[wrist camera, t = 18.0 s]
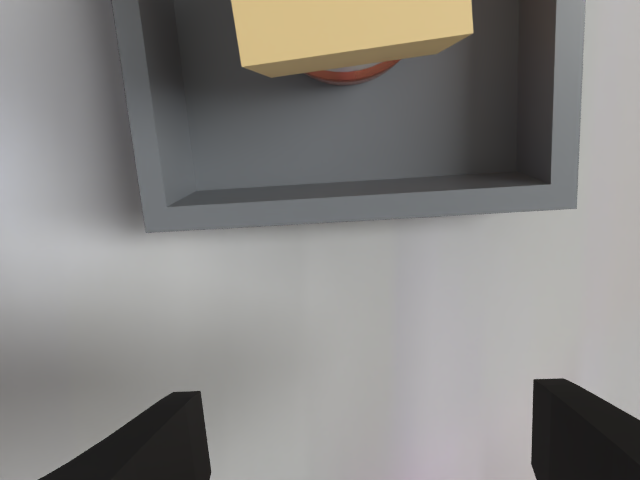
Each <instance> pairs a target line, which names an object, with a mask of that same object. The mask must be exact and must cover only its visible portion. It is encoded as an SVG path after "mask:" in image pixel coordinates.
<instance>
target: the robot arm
mask: <svg viewBox="0 0 640 480" xmlns="http://www.w3.org/2000/svg"><path fill="white" fill-rule="evenodd" d="M531 465H532V467H533V470H534V473H535V476H536V479H537V480H640V420H638V419H637V418H635V417H633V416H631V415H629V414H628V413H626V412H624V411H622V410H621V409H619V408H617V407H615V406H614V405H612V404H610V403H608V402H607V401H605V400H603V399H601V398H600V397H598V396H596V395H594V394H593V393H591V392H589V391H587V390H585V389H584V388H582V387H580V386H578V385H576V384H574V383H572V382H570V381H568V380H566V379H534V384H533V422H532V460H531ZM210 475H211V467H210V459H209V452H208V444H207V437H206V429H205V422H204V414H203V407H202V399H201V392H200V391H191V392H173V393H171V394H169V395H168V396H166V397H164V398H163V399H161V400H160V401H158V402H157V403H155V404H154V405H152V406H151V407H150V408H148V409H147V410H145V411H144V412H142V413H141V414H140V415H138V416H137V417H135V418H134V419H133V420H131V421H130V422H128V423H127V424H125V425H124V426H123V427H121V428H120V429H118V430H117V431H115V432H114V433H113V434H111V435H110V436H108V437H107V438H105V439H104V440H102V441H101V442H99V443H98V444H96V445H94V446H93V447H91V448H90V449H88V450H87V451H85V452H84V453H82V454H80V455H79V456H77V457H76V458H74V459H73V460H71V461H70V462H68V463H66V464H65V465H63V466H61V467H60V468H58V469H56V470H54V471H53V472H51V473H49V474H47V475H46V476H44V477H42V478H40V479H38V480H209V479H210Z"/></svg>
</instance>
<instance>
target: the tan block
mask: <svg viewBox="0 0 640 480" xmlns="http://www.w3.org/2000/svg"><path fill="white" fill-rule="evenodd" d="M231 3H232V10H233V16H234V22H235V28H236V34H237V41H238V47H239V53H240V59H241V66H242V67H243V68H246V69H249V70H252V71H254V72H257V73H260V74H262V75H265V76H268V77H271V78H273V77H280V76H287V75H294V74H301V73H308V72H315V71H322V70H329V69H336V68H343V67H350V66H357V65H364V64H370V63H377V62H385V61H391V60H398V59H405V58H412V57H419V56H426V55H433V54H438V53H439V52H441V51H443V50H445V49H446V48H448V47H450V46H452V45H454V44H455V43H457V42H459V41H461V40H462V39H464V38H466V37H468V36H469V35H471V34H473V18H472V2H471V0H231Z"/></svg>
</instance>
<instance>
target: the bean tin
mask: <svg viewBox="0 0 640 480" xmlns="http://www.w3.org/2000/svg"><path fill="white" fill-rule="evenodd" d="M400 60H401V59H398V60H391V61H385V62H377V63H370V64H364V65H357V66H350V67H343V68H336V69H329V70H322V71H315V72H308V73H304V74H306V75H307V76H309V77H311V78H313V79H315V80H317V81H320V82H323V83H327V84H332V85H356V84H361V83H364V82H368V81H370V80H373V79H375V78H377V77H379V76H381V75H382V74H384V73H386V72H387V71H388V70H390V69H391V68H392V67H394V66H395V65H396V64H397V63H398V62H399V61H400Z"/></svg>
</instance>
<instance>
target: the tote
mask: <svg viewBox="0 0 640 480" xmlns="http://www.w3.org/2000/svg"><path fill="white" fill-rule="evenodd" d="M111 1H112V8H113V15H114V21H115V28H116V35H117V42H118V48H119V55H120V62H121V69H122V75H123V82H124V89H125V96H126V102H127V109H128V116H129V123H130V129H131V136H132V143H133V150H134V157H135V163H136V170H137V177H138V184H139V190H140V197H141V204H142V211H143V217H144V224H145V231H146V233H152V232H170V231H187V230H205V229H223V228H241V227H259V226H277V225H294V224H312V223H330V222H348V221H366V220H384V219H401V218H419V217H437V216H455V215H473V214H491V213H509V212H526V211H544V210H562V209H577V189H578V165H579V142H580V119H581V96H582V73H583V50H584V27H585V4H586V0H471V2H472V18H473V34H471V35H469V36H468V37H466V38H464V39H462V40H461V41H459V42H457V43H455V44H454V45H452V46H450V47H448V48H446V49H445V50H443V51H441V52H439V53H438V54H433V55H426V56H419V57H412V58H405V59H401V60H400V61H399V62H398V63H397V64H396V65H395V66H394V67H392V68H391V69H390V70H388V71H387V72H386V73H384V74H382V75H381V76H379V77H377V78H375V79H373V80H370V81H368V82H364V83H361V84H356V85H332V84H327V83H323V82H320V81H317V80H315V79H313V78H311V77H309V76H307V75H306V74H304V73H301V74H294V75H287V76H280V77H273V78H271V77H268V76H265V75H262V74H260V73H257V72H254V71H252V70H249V69H246V68H243V67H242V66H241V59H240V53H239V47H238V41H237V34H236V28H235V22H234V16H233V10H232V3H231V0H111Z"/></svg>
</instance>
